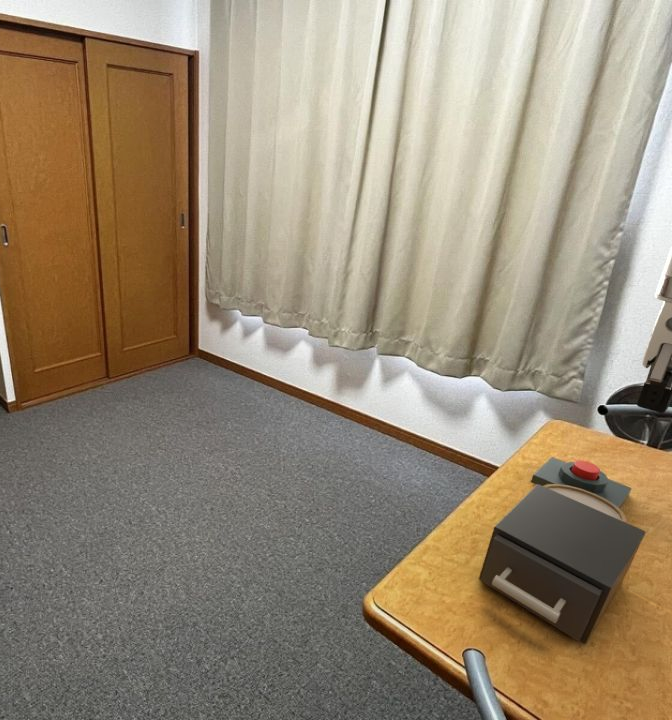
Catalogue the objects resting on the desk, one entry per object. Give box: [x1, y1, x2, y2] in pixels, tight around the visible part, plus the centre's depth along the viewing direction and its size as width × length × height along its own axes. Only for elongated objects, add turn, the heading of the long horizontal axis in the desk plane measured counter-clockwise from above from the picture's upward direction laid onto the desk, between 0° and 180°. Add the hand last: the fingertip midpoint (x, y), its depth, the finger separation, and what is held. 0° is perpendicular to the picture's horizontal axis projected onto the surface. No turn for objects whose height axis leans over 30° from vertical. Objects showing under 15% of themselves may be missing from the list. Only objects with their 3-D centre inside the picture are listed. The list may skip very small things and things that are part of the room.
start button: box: [571, 460, 601, 481], centre depth 83 cm, size 4×4×2 cm
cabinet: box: [478, 484, 647, 645], centre depth 65 cm, size 15×13×10 cm
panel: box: [530, 456, 633, 509], centre depth 84 cm, size 12×9×4 cm
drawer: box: [480, 535, 602, 642], centre depth 63 cm, size 17×11×8 cm, turn 127°
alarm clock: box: [544, 484, 628, 523], centre depth 75 cm, size 11×5×15 cm
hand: (651, 408), depth 72 cm, fingers closed
